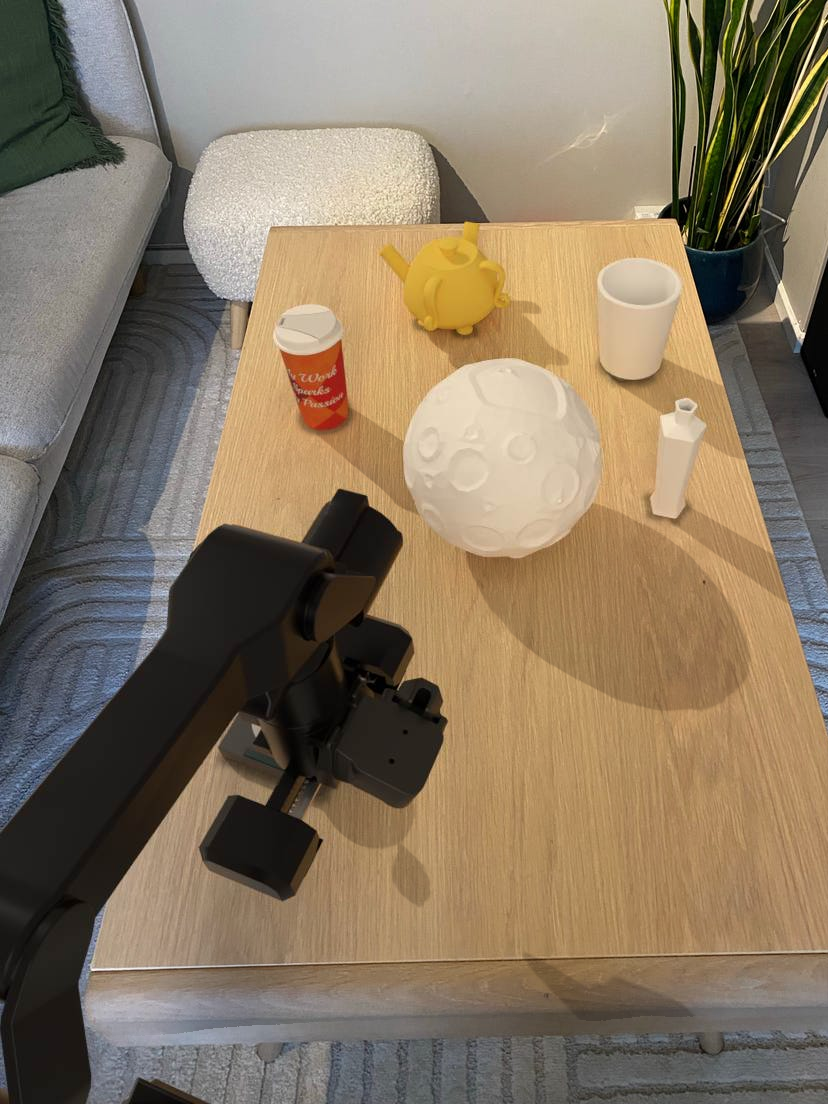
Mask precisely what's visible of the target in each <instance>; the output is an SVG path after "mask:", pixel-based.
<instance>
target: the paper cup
mask: <svg viewBox="0 0 828 1104" xmlns="http://www.w3.org/2000/svg"><path fill="white" fill-rule="evenodd" d="M344 333H345V327H344V326H343V324H342V322H341V320H340V319H339V318H338V317H337V316H336V314H335V313H334V312H333V311H332V310H331V309H330V308H328V307H326V306H325V305H322V304H321V305H320V304H314V303H313V304H311V303H307V304H300V305H297V306H294V307H291V308H289V309H287V310H286V311H284V312H283V313H282V314H281V315H280V317H279V318H278V320H277V322H276V326H275V327H274V330H273V334H272V338H273V339H272V341H273V342H274V344H275V346H276V347H277V348H278V349H279V352H280V355H281V358H282V361H283V364H284V367H285V370H286V373H287V376H288V379H289V383H290V386H291V389H292V391H293V394H294V397H295V401H296V403H297V407H298V409H299V413H300V415H301V419H302V420H303V422H304V424H305V425H306V426H307V427H309V428H310V429H313V430H317V431H327V430H332V429H335V428H337V427H339V426H340V425H342V424H343V423H344V422H345V421H346V420H347V418H348V415H349V400H348V389H347V381H346V371H345V362H344V351H343V345H342V344H343V343H342V338H343V335H344Z"/></svg>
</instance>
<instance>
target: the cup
mask: <svg viewBox="0 0 828 1104" xmlns="http://www.w3.org/2000/svg"><path fill="white" fill-rule="evenodd" d="M596 282H597V284H596V285H597V286H596V287H597V311H598V312H597V313H598V314H597V315H598V317H597V318H598V341H599V343H598V344H599V361H600V362H599V363H600V366H601V367H602V368H603V369H604V371H606V372H607V373H608V374H610V375H611V376H612V377H613V378H614V379H615V380H616V381H617V382H621V383H622V382H627V381H635V380H636V381H637V380H640V381H648V380H650V379H651V378H652V377H653V376H654V375H655V374H656V373H657V372H658V370H660V368H661V365H662V362H663V359H664V355H665V352H666V347H667V344H668V341H669V338H670V334H671V330H672V326H673V323H674V319H675V316H676V312H677V309H678V305H679V302H680V299H681V296H682V292H683V289H684V288H683V287H684V286H683V285H684V284H683V280H682V278H681V276H680V273H678V272H677V270H675V268H673V267H672V266H670V265H668V264H666V263H664V262H661V261H658V260H656V259H651V258H647V257H646V258H645V257H629V258H622V259H619V260H616V261H613V262H611V263H609V264H608V265H605V266H604V267H603V268H602V269H600V271H599V273H598V275H597V280H596Z"/></svg>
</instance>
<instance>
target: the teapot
mask: <svg viewBox="0 0 828 1104" xmlns="http://www.w3.org/2000/svg"><path fill="white" fill-rule="evenodd" d="M479 233H480V223H477V222H470V221H464V225H463V231H462V236H461V237H455V236H448V237H447V236H446V237H439V238H436V239H434V240H430V241H429V242H427V243H426V244H424V246H422V248H421V249H420V250H419V252H418V253H417V254H416V256H415V257H414V259H413V261H412V262H411V264H410V265H409V263H408V262H407V261H406V260H405V258H404V257H403V256H402V254H400V252H399V251H398V250H397V249H396V248H395V246H394V245H393V244H392V243H391V242H390V243H388V244H387V245H385V246H384V247H383V248H382V249H380V251H379V252H378V254H379V256H380V257H381V258H382V259H383V260H384V262H385V263H386V264H387V265H388V266H389V267H390V268H391V270H392V272H393V273H394V274H395V275H396V276H397V277H398V278H399V280H400V281H401V282H402V283H403V292H402V293H403V303H404V305H405V307H406V308H407V310H408V312H409V313H410V314H411V315H412V316H413V317H415V318H416V319H417V320H418V321H417V324H418V325H419V326H421V327H423V328H424V329H425V331H427V332H433V331H435V330H437V329H442V330H456V331H455V332H457V333H458V334H459V335H469V334H471V333H473V331H474V327H473V325H475V324H478V323H479V322H481V321H482V320H484V318H486V317H488V315H489V314H490V313H492V311H494V309H495V307H496V308H498V309H505V308H507V307H509V305H510V304H511V297H510V295H509V294H508V293H506V292H503V288H504V286H505V282H506V271H505V269H504V266H502V265H501V264H500V263H499V262H496V261H494V260H491V259H488V258H487V256H486V255H485V254H484V253H483V251H481V249H480V248H479V247H478V241H479V235H480V234H479ZM497 276H498V277H497Z"/></svg>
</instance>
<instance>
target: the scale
mask: <svg viewBox="0 0 828 1104" xmlns="http://www.w3.org/2000/svg"><path fill="white" fill-rule="evenodd" d="M260 730H261V727H259V726H257V725H254V724H251V723H249V722H246V721H243V720H242V719H241V717H240V715H239V713H237V714H236V716H235V717H234V719H233V721H232V722H231V724H230V727H229V728H228V730H227V731H226V733H225V735H224V736H223V738H222V740H221V741H220V743H219V745H217V749H218V750H219V753H220V754H221V756H222V758H224V759H227V760H229V761H232V762H234V763H237V764H239V765H242V766H244V767H247V768H248V769H251V770H255V771H257V772H258V773H262V774H264V775H266V776H269V777H272V778H275V779H277V780H279V779H280V777H281V775H282V774H283V772H284V769H283V768H281V767H280V766H279V765H278V764H277V762H276V761H275V759H274V758H273V757H271V756H268V755H265V754H263V753H260V752H258V751H256V750H255V748H254V746H253V742H254V740H255V738H256V737H257V735H258V733H259V732H260ZM307 778H311V777H307ZM305 783H308V782H306V781H305ZM327 787H328V786H325V785H323V784H321V786H320V788H319V790H318V792H317V794H316V795H317V796H320V797H323V795H324V793H325V791H326V790H327ZM301 789H305V788H304V787H302V788H301Z"/></svg>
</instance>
